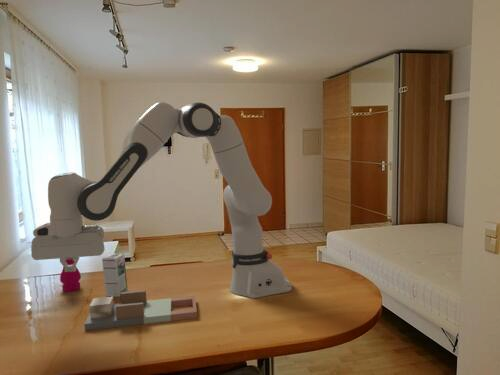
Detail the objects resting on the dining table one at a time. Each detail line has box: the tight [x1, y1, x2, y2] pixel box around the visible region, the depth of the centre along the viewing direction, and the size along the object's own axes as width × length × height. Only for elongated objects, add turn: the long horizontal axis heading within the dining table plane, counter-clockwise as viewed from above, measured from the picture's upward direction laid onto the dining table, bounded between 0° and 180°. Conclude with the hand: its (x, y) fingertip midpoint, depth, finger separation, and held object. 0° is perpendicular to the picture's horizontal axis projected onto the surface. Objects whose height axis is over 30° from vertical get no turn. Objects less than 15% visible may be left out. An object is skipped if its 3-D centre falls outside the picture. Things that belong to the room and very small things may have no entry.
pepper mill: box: [59, 257, 82, 293], centre depth 151 cm, size 7×7×20 cm
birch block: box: [89, 296, 115, 318], centre depth 125 cm, size 6×6×4 cm
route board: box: [84, 289, 198, 331], centre depth 127 cm, size 33×13×6 cm, turn 100°
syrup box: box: [101, 252, 129, 298], centre depth 145 cm, size 6×6×14 cm
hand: (70, 271), depth 122 cm, fingers closed
